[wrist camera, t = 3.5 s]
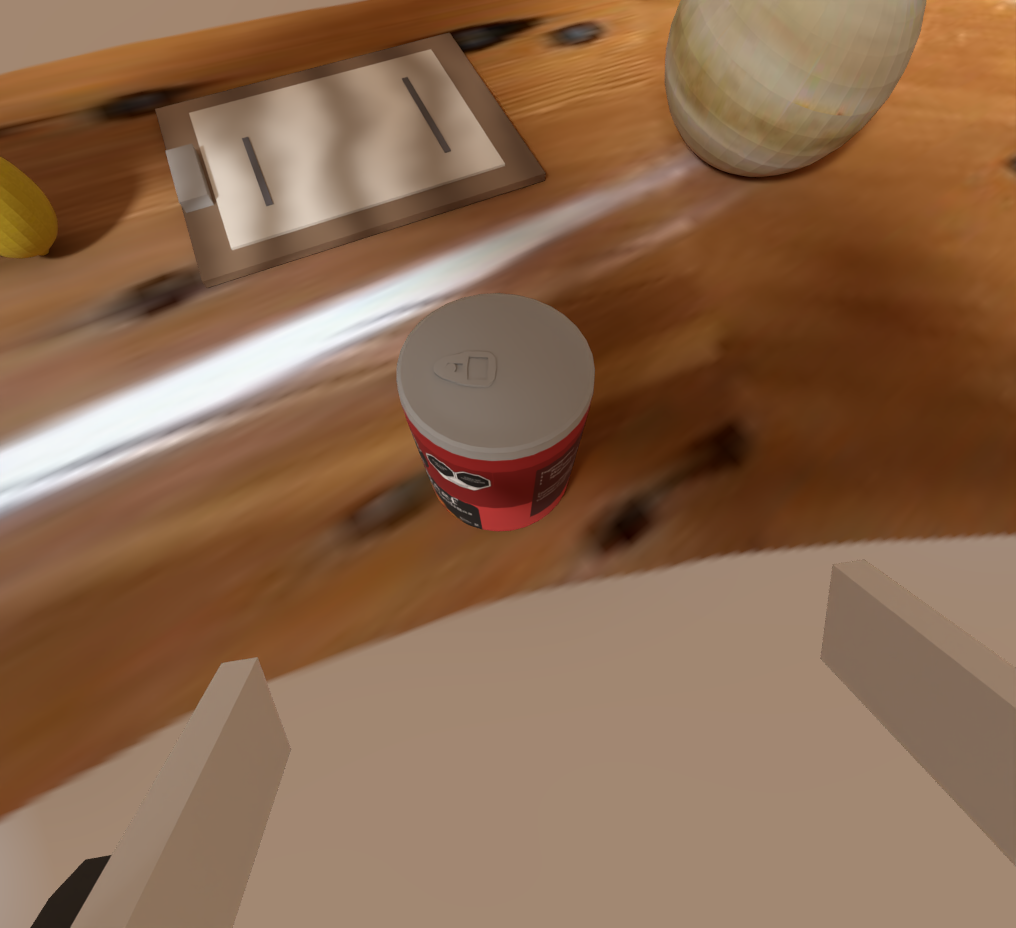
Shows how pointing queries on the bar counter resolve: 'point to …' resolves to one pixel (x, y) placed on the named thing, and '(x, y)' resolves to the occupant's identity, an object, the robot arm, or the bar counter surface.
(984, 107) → the bar counter surface
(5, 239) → the lemon
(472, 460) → the canned food
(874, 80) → the decorative ball
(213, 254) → the clipboard
